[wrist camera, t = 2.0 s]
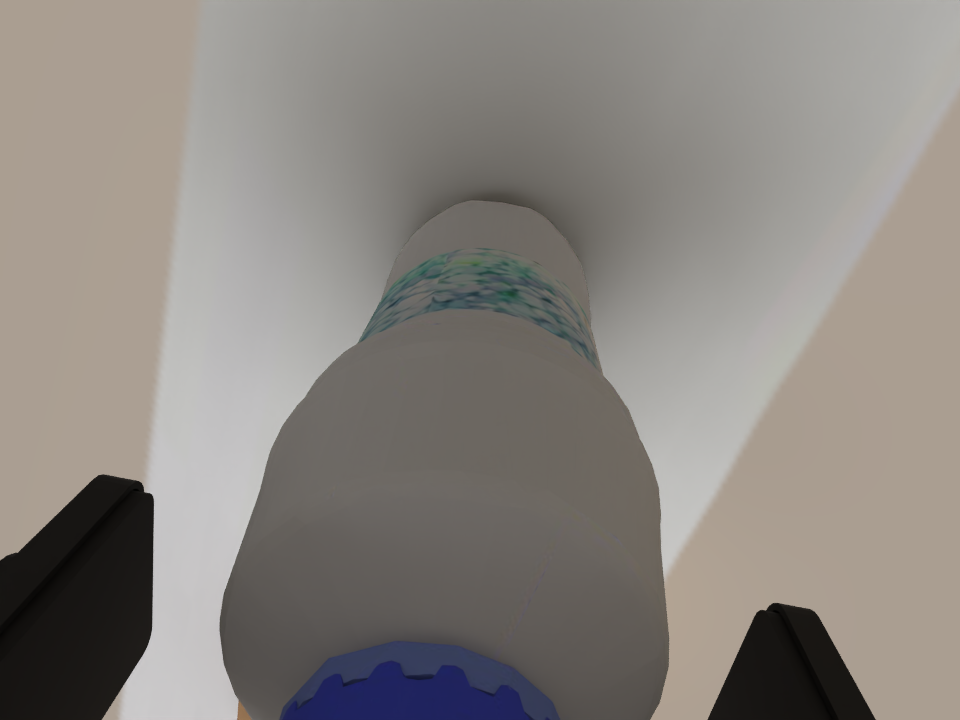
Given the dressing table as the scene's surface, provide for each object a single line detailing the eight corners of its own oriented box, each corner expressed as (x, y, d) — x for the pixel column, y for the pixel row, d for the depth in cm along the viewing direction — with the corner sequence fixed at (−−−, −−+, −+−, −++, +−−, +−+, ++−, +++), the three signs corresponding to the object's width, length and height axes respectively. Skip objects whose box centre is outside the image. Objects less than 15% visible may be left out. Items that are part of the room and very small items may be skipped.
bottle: (426, 384, 26) (206, 1174, 8) (368, 210, 23) (-163, 780, 5) (604, 345, 25) (834, 1149, 7) (564, 158, 22) (762, 640, 4)
